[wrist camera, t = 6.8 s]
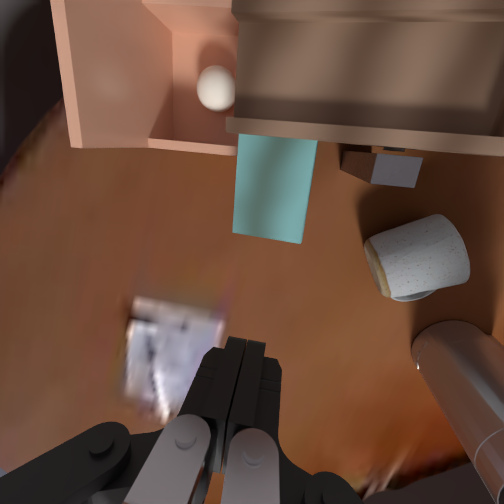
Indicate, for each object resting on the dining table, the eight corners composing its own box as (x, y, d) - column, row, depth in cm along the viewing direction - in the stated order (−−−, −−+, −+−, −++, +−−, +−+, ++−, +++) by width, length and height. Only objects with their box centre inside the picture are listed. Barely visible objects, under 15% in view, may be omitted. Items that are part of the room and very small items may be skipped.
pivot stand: (400, 30, 26) (487, -62, 15) (367, 172, 31) (414, 187, 19) (367, 28, 27) (428, -63, 15) (340, 169, 31) (370, 183, 20)
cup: (280, 32, 28) (271, -102, 13) (268, 155, 32) (250, 164, 17) (167, 25, 28) (35, -106, 14) (169, 146, 33) (71, 146, 18)
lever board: (516, 46, 22) (650, -31, 12) (445, 241, 28) (501, 287, 18) (266, 43, 26) (230, -15, 17) (252, 212, 32) (218, 237, 23)
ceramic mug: (354, 231, 34) (372, 256, 27) (427, 205, 32) (467, 224, 24) (378, 303, 37) (400, 341, 30) (446, 283, 35) (486, 320, 28)
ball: (224, 58, 24) (188, 60, 26) (222, 110, 26) (187, 108, 27) (246, 70, 28) (212, 71, 29) (243, 115, 29) (211, 113, 31)
